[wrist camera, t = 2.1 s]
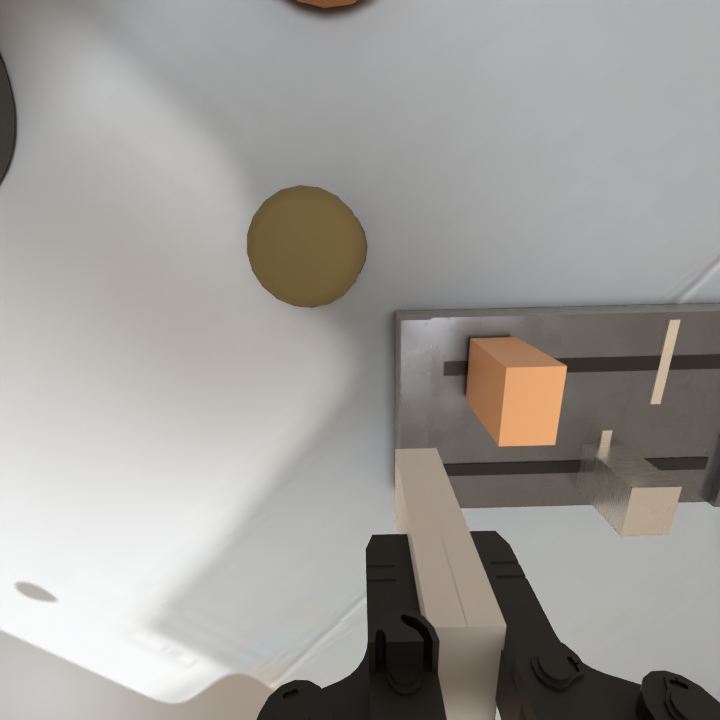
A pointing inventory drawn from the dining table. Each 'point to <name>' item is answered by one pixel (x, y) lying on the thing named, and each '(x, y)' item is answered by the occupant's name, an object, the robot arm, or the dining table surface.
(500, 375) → the fader
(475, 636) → the robot arm
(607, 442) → the slider panel
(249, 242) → the cork
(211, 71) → the dining table surface
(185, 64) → the dining table surface
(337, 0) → the doughnut
